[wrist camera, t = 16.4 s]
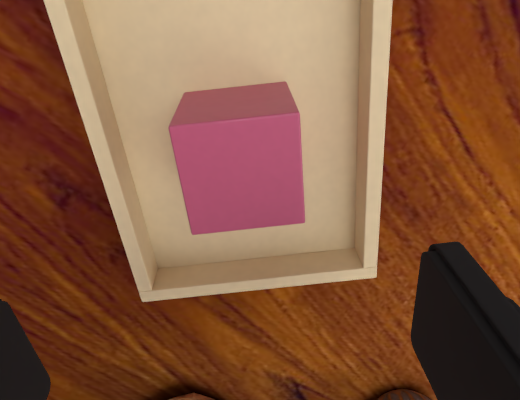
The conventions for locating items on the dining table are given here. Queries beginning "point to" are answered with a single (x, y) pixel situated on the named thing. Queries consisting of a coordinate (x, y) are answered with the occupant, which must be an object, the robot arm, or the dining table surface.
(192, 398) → the bread
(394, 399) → the vase
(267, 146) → the top block
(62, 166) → the dining table surface
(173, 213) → the tray
